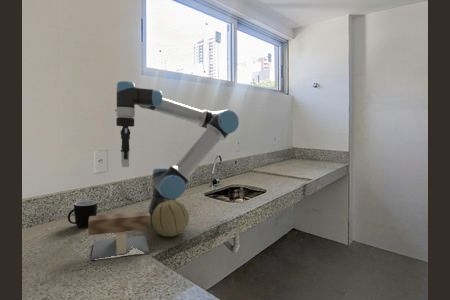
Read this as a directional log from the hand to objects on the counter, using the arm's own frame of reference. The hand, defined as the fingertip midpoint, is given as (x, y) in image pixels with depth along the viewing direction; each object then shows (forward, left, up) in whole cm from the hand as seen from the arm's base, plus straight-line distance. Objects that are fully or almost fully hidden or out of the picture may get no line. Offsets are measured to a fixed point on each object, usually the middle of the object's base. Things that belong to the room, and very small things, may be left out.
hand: (124, 165), depth 119 cm
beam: (+2, +27, -20) cm, 33 cm away
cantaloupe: (-17, +20, -27) cm, 38 cm away
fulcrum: (+2, +27, -27) cm, 38 cm away
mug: (+17, -1, -27) cm, 32 cm away
